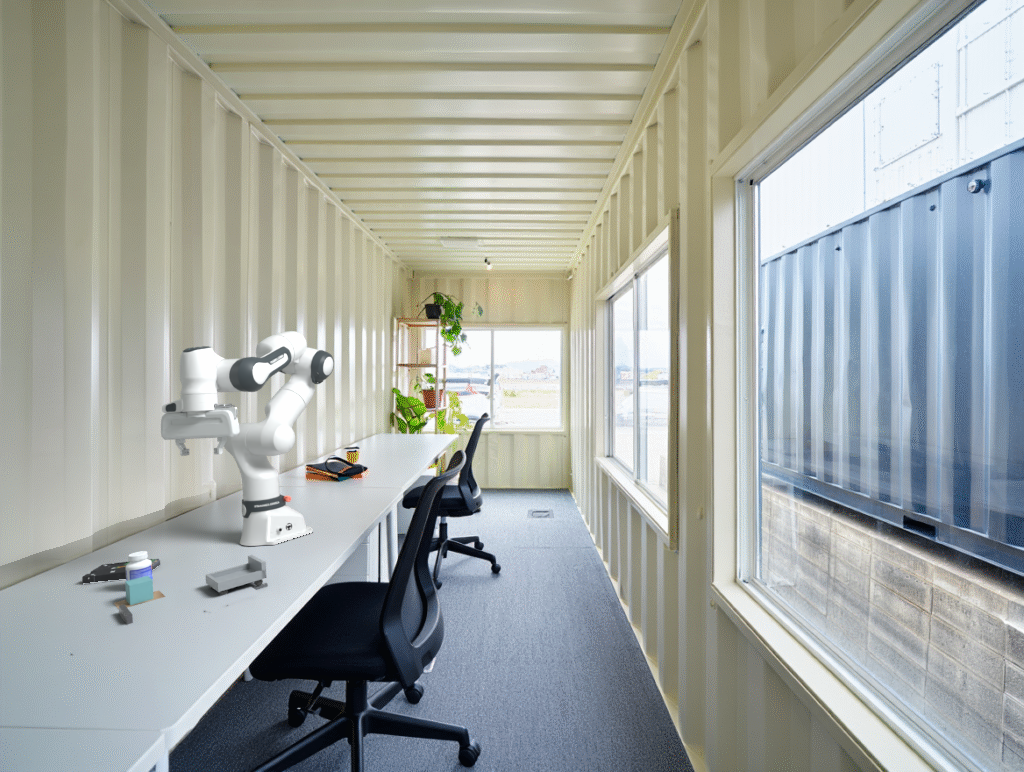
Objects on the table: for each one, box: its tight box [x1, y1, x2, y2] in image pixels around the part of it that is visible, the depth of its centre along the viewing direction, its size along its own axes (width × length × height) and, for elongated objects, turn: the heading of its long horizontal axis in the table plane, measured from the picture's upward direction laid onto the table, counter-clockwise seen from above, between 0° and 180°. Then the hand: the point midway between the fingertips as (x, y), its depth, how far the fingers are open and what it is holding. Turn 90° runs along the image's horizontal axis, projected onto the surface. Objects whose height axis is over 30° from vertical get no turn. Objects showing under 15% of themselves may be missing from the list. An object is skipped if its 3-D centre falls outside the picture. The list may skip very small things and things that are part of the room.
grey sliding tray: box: [205, 554, 267, 596], centre depth 129 cm, size 11×9×6 cm
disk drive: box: [81, 558, 161, 584], centre depth 145 cm, size 10×3×15 cm
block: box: [124, 576, 154, 605], centre depth 123 cm, size 4×4×4 cm
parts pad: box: [113, 590, 166, 610], centre depth 123 cm, size 9×6×1 cm, turn 137°
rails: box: [118, 582, 269, 625], centre depth 123 cm, size 29×8×3 cm, turn 137°
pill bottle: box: [125, 550, 154, 581], centre depth 131 cm, size 5×5×10 cm
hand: (201, 454), depth 143 cm, fingers open, 8 cm apart
